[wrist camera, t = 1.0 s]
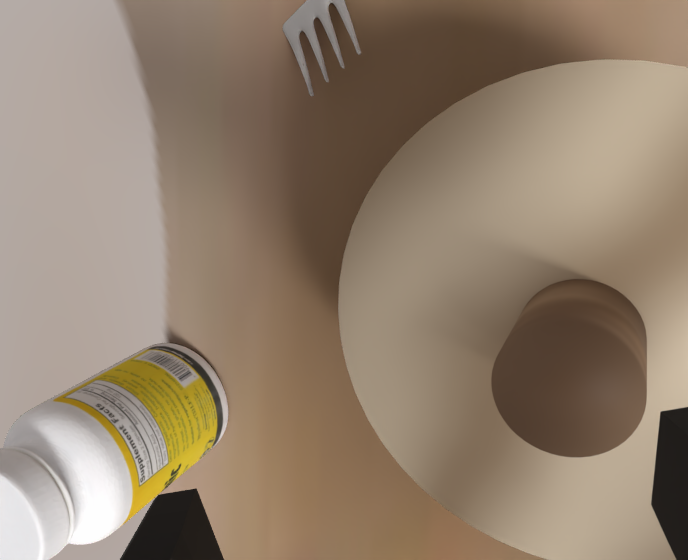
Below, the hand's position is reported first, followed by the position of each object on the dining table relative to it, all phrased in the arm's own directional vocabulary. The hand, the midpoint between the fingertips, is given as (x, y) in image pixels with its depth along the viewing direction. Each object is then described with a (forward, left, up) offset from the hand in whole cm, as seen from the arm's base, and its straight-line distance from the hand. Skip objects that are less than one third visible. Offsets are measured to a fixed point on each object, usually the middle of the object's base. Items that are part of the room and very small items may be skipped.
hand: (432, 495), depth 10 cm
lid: (-1, -1, -8) cm, 8 cm away
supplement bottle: (+12, +12, -13) cm, 21 cm away
